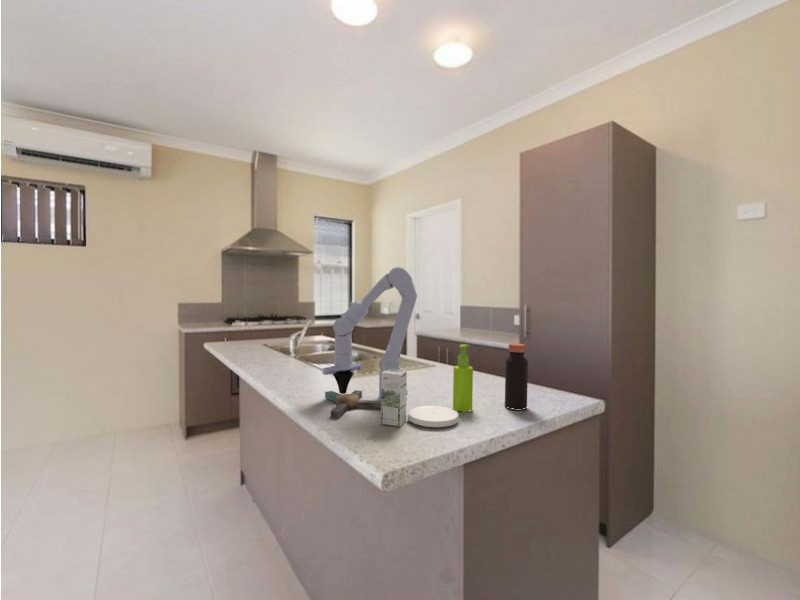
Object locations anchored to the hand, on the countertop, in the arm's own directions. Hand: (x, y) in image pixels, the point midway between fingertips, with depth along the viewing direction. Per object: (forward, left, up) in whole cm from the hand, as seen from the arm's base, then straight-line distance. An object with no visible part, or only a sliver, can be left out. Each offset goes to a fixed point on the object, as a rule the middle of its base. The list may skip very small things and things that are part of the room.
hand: (342, 393), depth 134 cm
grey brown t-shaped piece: (-7, +11, -1) cm, 13 cm away
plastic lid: (-29, +23, -2) cm, 37 cm away
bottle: (-56, +10, -2) cm, 57 cm away
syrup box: (-18, +26, -2) cm, 31 cm away
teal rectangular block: (+2, +4, -1) cm, 5 cm away
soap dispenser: (-39, +12, -2) cm, 41 cm away
